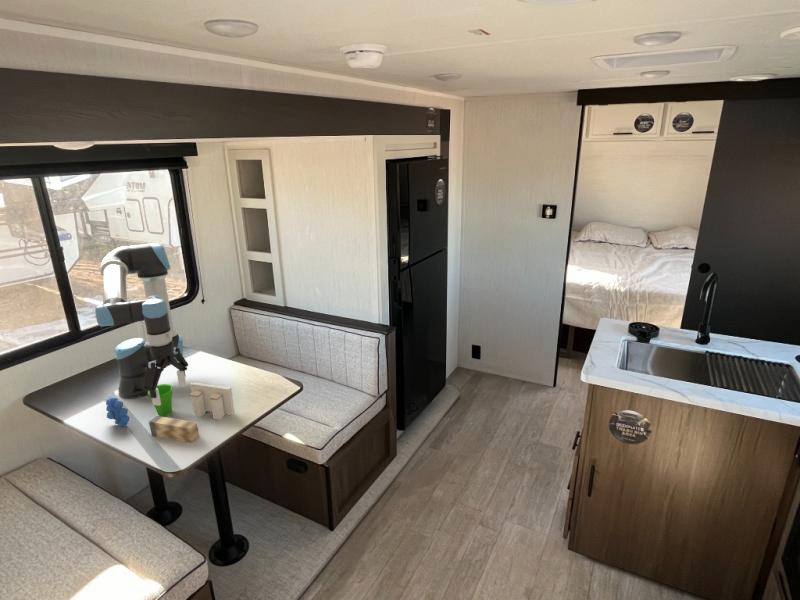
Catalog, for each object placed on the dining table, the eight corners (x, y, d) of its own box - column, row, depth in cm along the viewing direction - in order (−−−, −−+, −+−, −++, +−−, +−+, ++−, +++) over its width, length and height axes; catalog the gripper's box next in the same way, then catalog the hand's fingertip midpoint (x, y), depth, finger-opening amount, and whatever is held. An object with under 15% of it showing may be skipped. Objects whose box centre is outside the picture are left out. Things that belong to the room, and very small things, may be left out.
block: (151, 435, 175) (148, 421, 173) (159, 429, 179) (156, 415, 177) (192, 442, 171) (189, 428, 169) (199, 436, 174) (197, 422, 172)
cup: (151, 421, 184) (146, 397, 180) (153, 410, 191) (148, 386, 188) (176, 416, 187) (172, 392, 183) (177, 405, 195) (172, 382, 191)
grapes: (100, 426, 180) (93, 399, 176) (117, 418, 186) (111, 391, 182) (119, 434, 175) (112, 407, 171) (135, 425, 181) (130, 398, 177)
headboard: (187, 414, 188) (183, 388, 184) (196, 407, 193) (192, 382, 189) (226, 421, 184) (222, 394, 180) (234, 413, 189) (231, 387, 185)
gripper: (143, 358, 151) (154, 414, 157) (193, 330, 174) (200, 380, 180) (124, 356, 152) (136, 411, 159) (176, 328, 175) (184, 378, 182)
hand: (170, 395), depth 170 cm, fingers open, 13 cm apart
